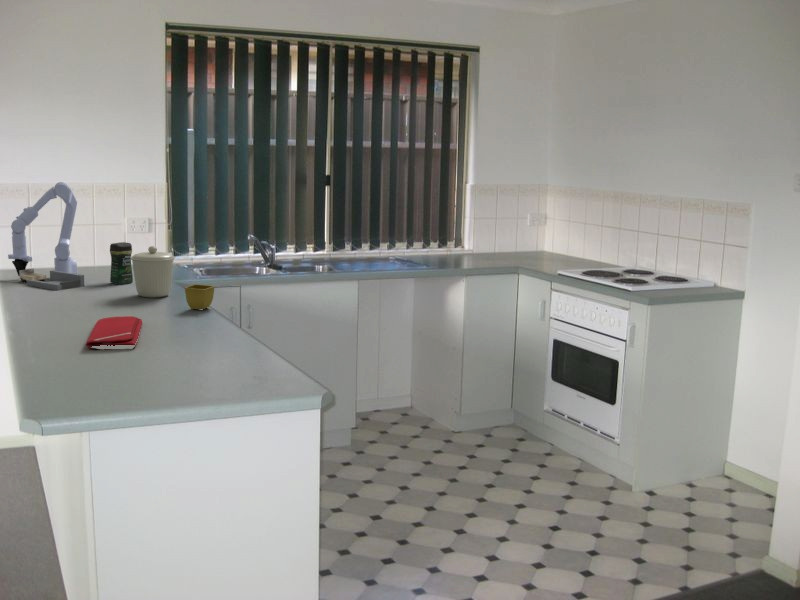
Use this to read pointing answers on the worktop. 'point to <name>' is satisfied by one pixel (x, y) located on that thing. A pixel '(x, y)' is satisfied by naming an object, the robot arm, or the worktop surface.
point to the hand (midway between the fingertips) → (21, 275)
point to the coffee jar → (121, 263)
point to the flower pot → (199, 296)
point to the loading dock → (59, 281)
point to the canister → (153, 272)
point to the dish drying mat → (115, 331)
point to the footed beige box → (30, 275)
